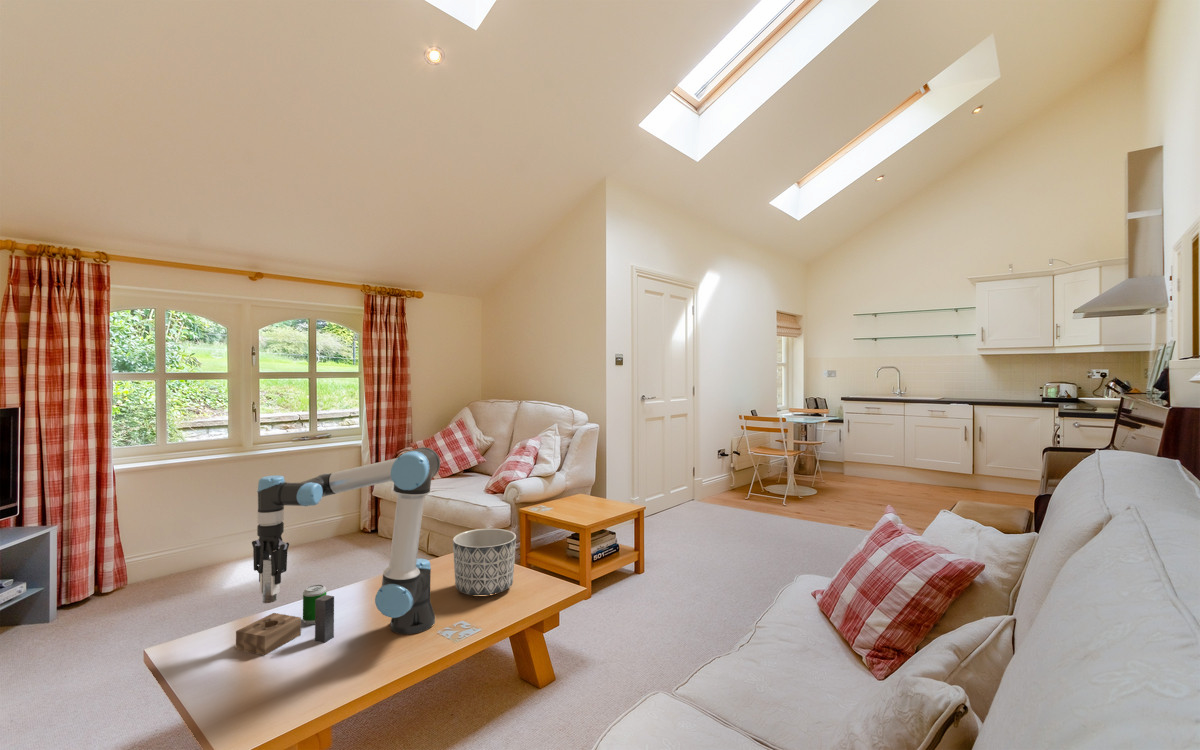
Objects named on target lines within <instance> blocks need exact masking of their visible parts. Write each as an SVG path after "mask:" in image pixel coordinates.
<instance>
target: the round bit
mask: <svg viewBox="0 0 1200 750" xmlns="http://www.w3.org/2000/svg"><path fill="white" fill-rule="evenodd" d="M271 574H273V569H272V562H271V556H269V557H268V558H265V559H263V593H262V604H272V603H274V602H276V601H277V598H278V597H277V594H278V593H277V594H274V595H271Z"/></svg>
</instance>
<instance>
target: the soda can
mask: <svg viewBox="0 0 1200 750" xmlns="http://www.w3.org/2000/svg"><path fill="white" fill-rule="evenodd" d="M323 595H327V587H326V586H325V585H323V584H313V585H310V586H309V585H308V586H307V587H306V588H305V590H303V592H302V621H303V622H304V623H305V624H306V625H315V600H316V599H318V598H319V597H321V596H323Z"/></svg>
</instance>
